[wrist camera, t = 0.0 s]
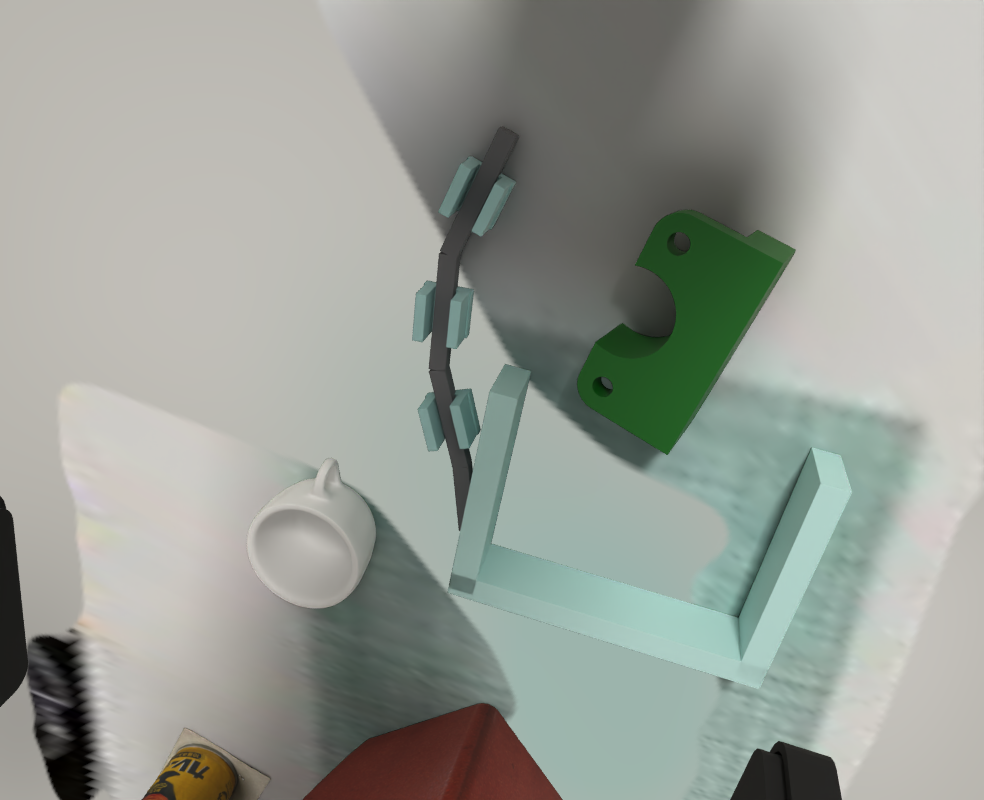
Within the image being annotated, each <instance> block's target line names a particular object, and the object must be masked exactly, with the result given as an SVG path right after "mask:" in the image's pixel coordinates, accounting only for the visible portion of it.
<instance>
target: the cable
mask: <svg viewBox="0 0 984 800" xmlns="http://www.w3.org/2000/svg"><path fill="white" fill-rule="evenodd" d="M518 138H519V135H517V134H515V133H514V132H512V131H510V130H508V129H507V128H505V127H503V126H502V127H500V128H499V129H498V131H497V133H496V135H495V137H494V139H493V142H492V144H491V146H490V148H489V150H488V152H487V154H486V156H485V158H484V160H483V162H482V164H481V166H480V169H479V171H478V173H477V175H476V177H475V179H474V181H473V183H472V185H471V187H470V189H469V191H468V193H467V195H466V198H465V200H464V202H463V204H462V206H461V208H460V210H459V212H458V214H457V216H456V218H455V220H454V222H453V225H452V227H451V229H450V231H449V233H448V235H447V237H446V239H445V241H444V243H443V245H442V247H441V249H440V251H441V252H440V253H439V260H438V272H437V282H436V294H435V305H434V316H433V327H432V338H431V349H430V361H429V369H430V371H429V374H430V378H431V382H432V386H433V390H434V394H435V398H436V402H437V406H438V410H439V414H440V418H441V423H442V427H443V431H444V435H445V439H446V443H447V447H448V451H449V455H450V459H451V463H452V467H453V476H454V486H455V496H456V506H457V515H458V525H459V531H460V530H461V526H462V521H463V516H464V511H465V506H466V502H467V497H468V492H469V487H470V483H471V478H472V473H473V468H472V461H471V460H472V459H471V455H470V451H469V448H467V449H460V448H459V444H458V439H457V435H456V431H455V427H454V423H453V419H452V414H451V410H450V405H451V403H452V402H453V400H454V399H455V393H456V391H455V387H454V383H453V379H452V374H451V370H450V366H449V364H450V354H451V348H448V347H446V344H447V334H448V324H449V313H450V303H451V299H452V298H453V297H454V296H455V295H456V289H457V286H458V276H459V266H460V256H461V253H462V251H463V249H464V247H465V245H466V243H467V241H468V238H469V236H470V234H471V232H472V229H473V227H474V225H475V223H476V221H477V219H478V217H479V215H480V213H481V210H482V208H483V206H484V204H485V202H486V200H487V198H488V196H489V194H490V192H491V190H492V188H493V186H494V184H495V183H496V181H497V179H498V177H499V175H500V174H501V172H502V170H503V168H504V166H505V164H506V162H507V160H508V158H509V156H510V154H511V152H512V150H513V148H514V146H515V144H516V142H517V140H518Z"/></svg>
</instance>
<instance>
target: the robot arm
mask: <svg viewBox="0 0 984 800" xmlns="http://www.w3.org/2000/svg"><path fill="white" fill-rule="evenodd" d="M22 611H23V610H22V601H21V591H20V581H19V573H18V563H17V553H16V544H15V534H14V524H13V518H12V514H11V513H10V512H9V511H8V510H6V506H5V503H4V500H3V499H2V498H1V496H0V707H1V706H2V705H3V704H4V703H5V701H7V699H9V698H10V697H11V696H12V695H13V694H14V693H15V691H16V690H17V689H18V688H19V686H20V685H21V683H22V681H23V679H24V677H25V675H26V672H27V668H28V658H27V649H26V639H25V629H24V620H23V612H22ZM730 800H842V798H841V792H840V786H839V781H838V775H837V770H836V767H835V763H834V761H833V760H832V758H831V757H828V756H825V755H822V754H819V753H815V752H812V751H809V750H806V749H803V748H800V747H796V746H793V745H790V744H787V743H784V742H780V741H778V742H777V743H775V744H774V746H773V747H772V749H771V751H770V752H768V751H764V750H761V749H756V750H755V751H754V753H753V754H752V756H751V758H750V760H749V762H748V764H747V767H746V769H745V771H744V773H743V775H742V777H741V779H740V781H739V783H738V785H737V787H736V789H735V791H734V793H733V795H732V797H731V799H730Z"/></svg>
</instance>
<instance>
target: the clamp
mask: <svg viewBox="0 0 984 800" xmlns="http://www.w3.org/2000/svg"><path fill="white" fill-rule="evenodd" d="M677 232H682V233H684V234H686V235H687V236H688V237H689V240H690V248H689V250H688V251H687V252H684V251H681V250H679V249H678V248H677V247H676V245H675V243H674V237H675V235H676V233H677ZM795 251H796V250H795V249H793V248H791V247H790V246H788V245H786V244H784V243H782V242H780V241H778V240H776V239H774V238H772V237H770V236H768V235H766V234H765V233H763V232H761V231H759V230H757V231H756V232H754V233H753V234H751V235H750V236H749V237H745V236H743V235H741V234H740V233H738V232H736V231H734V230H732V229H730V228H728V227H726V226H724V225H722V224H720V223H719V222H717V221H715V220H713V219H711V218H709V217H707V216H705V215H703V214H701V213H699V212H697V211H694V210H680V211H677V212H674V213H672V214H670V215H667V216H665V217H664V218H662V219H661V220H660V221H659V222H658V223H657V224H656V225H655V227H654V229H653V231H652V233H651V234H650V236H649V238H648V240H647V242H646V244H645V246H644V248H643V250H642V252H641V254H640V256H639V258H638V260H637V262H636V264H635V265H636V266H640V267H643V268H646V269H648V270H650V271H652V272H653V273H655V274H656V275H658V276H659V277H660V278H661V279H662V280H663V281H664V282H665V284H666V285H667V286H668V288H669V290H670V291H671V294H672V296H673V299H674V302H675V307H676V321H675V326H674V329H673V332H672V334H671V335H669V336H665V337H648V336H644V335H641V334H638V333H636V332H634V331H633V330H631V329H630V328H629V327H627V326H626V325H625V324H623V323H622V324H620V325H619V326H617V327H616V328H615V329H613V330H612V331H610V332H609V333H608V334H606V335H605V336H603V337H602V338H601V339H599V340H598V341H596V342H595V344H594V346H593V348H592V350H591V352H590V354H589V356H588V358H587V360H586V362H585V364H584V366H583V368H582V370H581V372H580V374H579V376H578V381H577V387H578V392H579V395H580V397H581V399H582V400H583V401H584V403H585V404H586V405H587V406H589V407H590V408H591V409H593V410H595V411H596V412H598V413H600V414H601V415H603V416H605V417H606V418H608V419H609V420H611V421H613V422H614V423H616V424H618V425H619V426H621V427H622V428H624V429H626V430H627V431H629V432H631V433H632V434H634V435H635V436H637V437H639V438H640V439H642V440H644V441H645V442H647V443H649V444H650V445H652V446H653V447H655V448H657V449H658V450H660V451H662V452H663V453H665V454H666V455H668V454H669V452H670V451H671V449H672V448H673V447H674V445H675V444H676V443H677V441H678V440H679V439H680V437H681V436H682V434H683V433H684V432H685V430H686V429H687V428H688V426H689V425H690V423H691V422H692V420H693V419H694V417H695V416H696V414H697V412H698V411H699V409H700V408H701V406H702V404H703V403H704V401H705V400H706V398H707V396H708V395H709V393H710V391H711V390H712V388H713V386H714V385H715V383H716V382H717V380H718V378H719V377H720V375H721V373H722V372H723V370H724V368H725V367H726V365H727V363H728V362H729V360H730V359H731V357H732V355H733V354H734V352H735V350H736V349H737V347H738V345H739V344H740V342H741V341H742V339H743V337H744V336H745V334H746V332H747V331H748V329H749V327H750V326H751V324H752V322H753V321H754V319H755V318H756V316H757V314H758V313H759V311H760V309H761V308H762V306H763V304H764V303H765V301H766V300H767V298H768V296H769V295H770V293H771V291H772V290H773V288H774V286H775V285H776V283H777V282H778V280H779V278H780V277H781V275H782V273H783V272H784V270H785V268H786V267H787V265H788V263H789V262H790V260H791V258H792V257H793V255H794V253H795ZM601 377H606V378H608V379H609V380H610V381H611V383H612V385H613V389H608V388H606V387H605V386H604V385H603V384H602V381H601Z"/></svg>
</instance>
